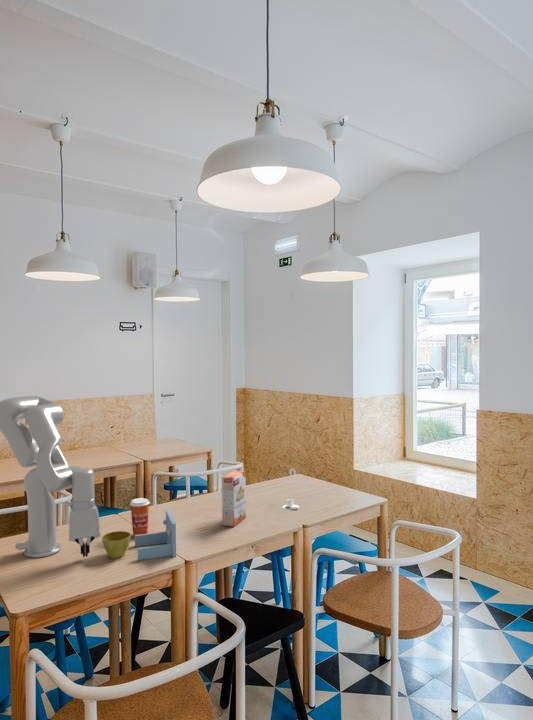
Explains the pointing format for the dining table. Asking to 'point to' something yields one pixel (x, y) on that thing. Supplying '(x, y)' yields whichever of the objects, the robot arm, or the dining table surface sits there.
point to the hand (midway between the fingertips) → (85, 555)
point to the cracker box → (233, 498)
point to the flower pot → (116, 543)
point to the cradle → (158, 541)
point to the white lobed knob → (291, 504)
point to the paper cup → (139, 515)
